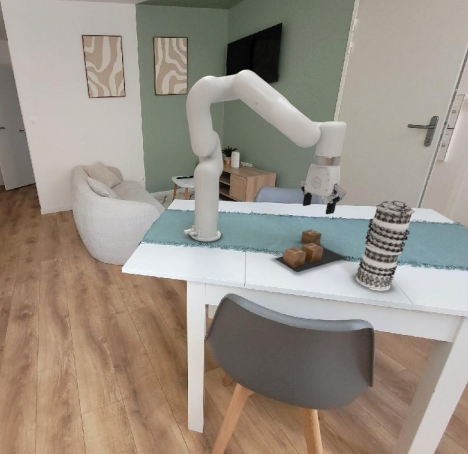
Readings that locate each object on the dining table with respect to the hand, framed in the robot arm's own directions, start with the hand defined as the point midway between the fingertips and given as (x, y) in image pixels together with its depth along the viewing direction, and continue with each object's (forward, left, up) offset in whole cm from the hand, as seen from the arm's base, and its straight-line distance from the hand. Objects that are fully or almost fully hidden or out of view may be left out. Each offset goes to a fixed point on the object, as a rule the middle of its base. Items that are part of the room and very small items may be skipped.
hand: (317, 209), depth 103 cm
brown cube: (-7, -7, -15) cm, 18 cm away
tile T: (+3, +3, -15) cm, 16 cm away
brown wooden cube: (-15, -6, -15) cm, 22 cm away
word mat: (-7, -6, -15) cm, 18 cm away
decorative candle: (-2, -24, -15) cm, 29 cm away
